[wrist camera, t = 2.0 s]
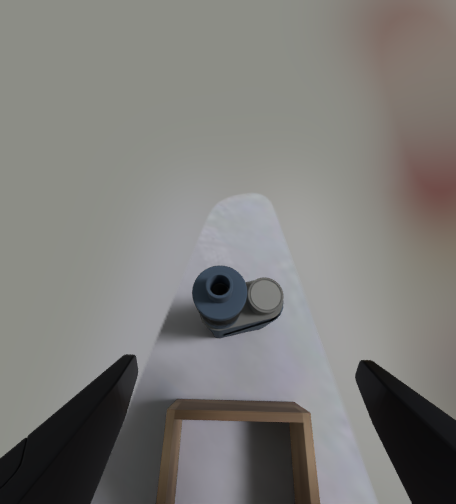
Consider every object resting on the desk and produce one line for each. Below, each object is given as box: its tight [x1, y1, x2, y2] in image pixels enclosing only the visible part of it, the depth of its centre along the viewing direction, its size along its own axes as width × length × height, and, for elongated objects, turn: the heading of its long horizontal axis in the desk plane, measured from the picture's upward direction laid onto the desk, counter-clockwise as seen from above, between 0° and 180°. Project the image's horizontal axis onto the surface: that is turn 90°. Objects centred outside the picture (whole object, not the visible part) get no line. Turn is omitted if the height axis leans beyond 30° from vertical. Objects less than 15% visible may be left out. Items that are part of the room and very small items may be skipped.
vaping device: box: [192, 266, 283, 338], centre depth 14 cm, size 3×5×12 cm, turn 103°
